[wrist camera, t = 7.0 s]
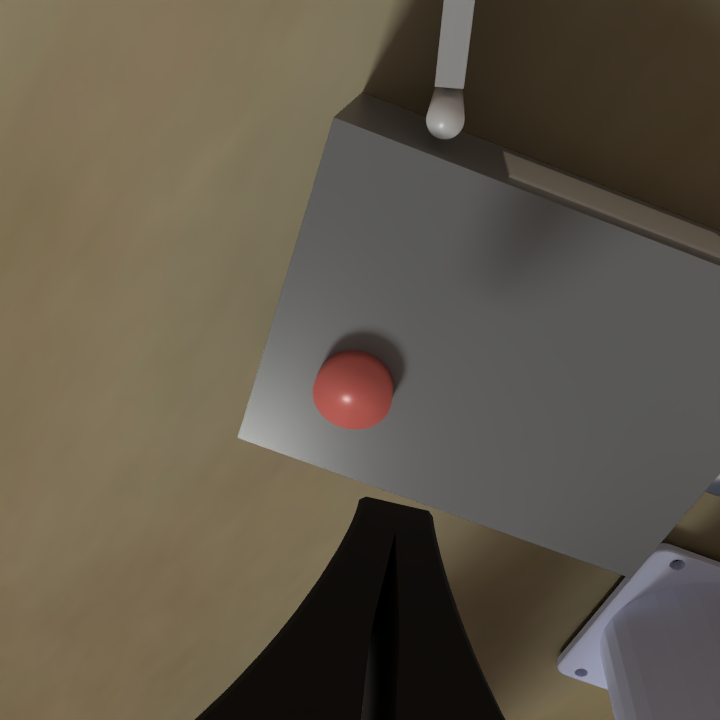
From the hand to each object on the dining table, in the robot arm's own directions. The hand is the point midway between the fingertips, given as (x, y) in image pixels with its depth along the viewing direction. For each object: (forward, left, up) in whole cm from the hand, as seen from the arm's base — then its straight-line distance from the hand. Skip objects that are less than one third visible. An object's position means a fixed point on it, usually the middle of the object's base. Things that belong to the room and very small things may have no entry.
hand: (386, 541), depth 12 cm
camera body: (-2, -2, -9) cm, 10 cm away
